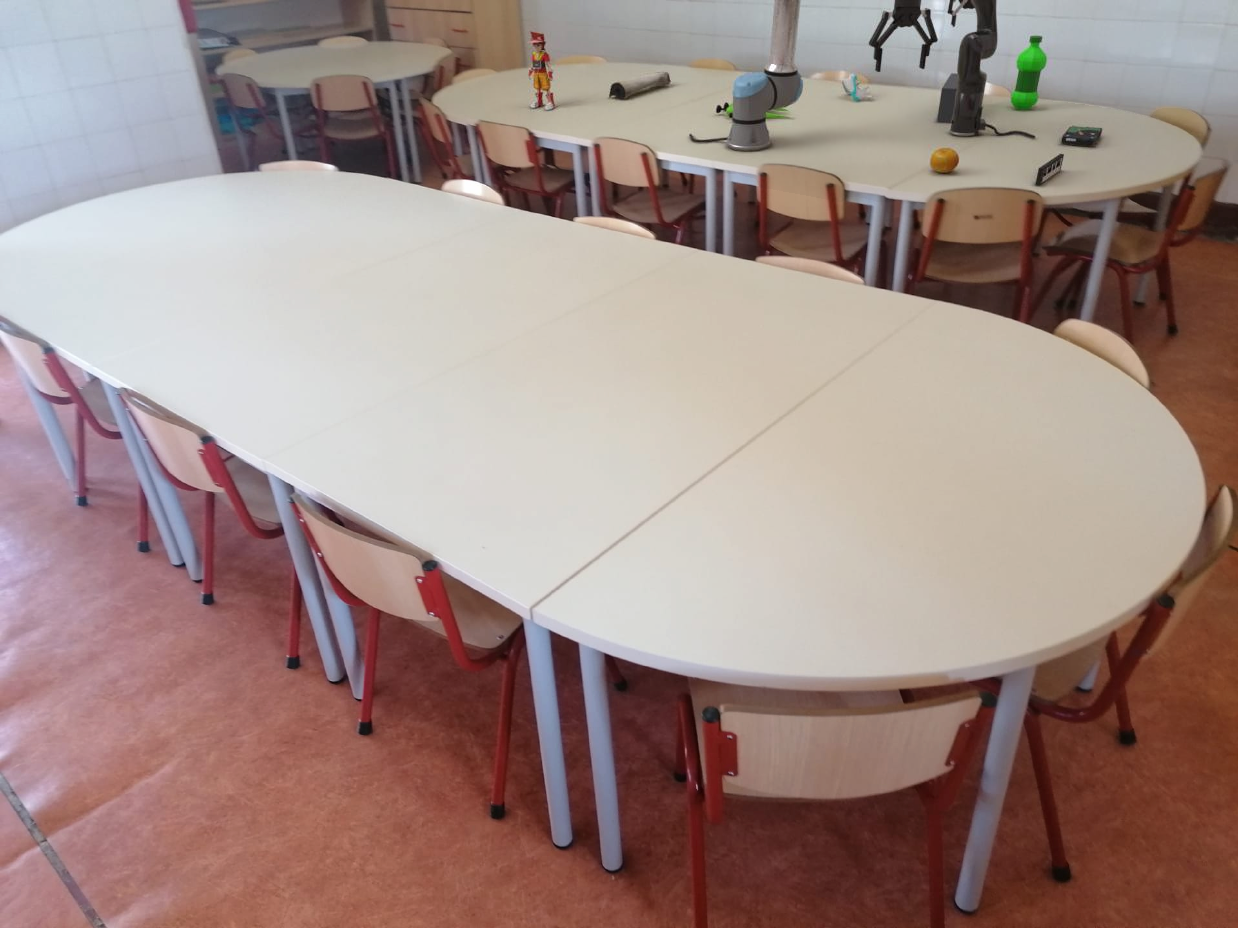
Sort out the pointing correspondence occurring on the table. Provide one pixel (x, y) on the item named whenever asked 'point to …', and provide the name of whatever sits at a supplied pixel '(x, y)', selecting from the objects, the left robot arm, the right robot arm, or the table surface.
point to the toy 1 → (541, 71)
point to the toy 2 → (730, 111)
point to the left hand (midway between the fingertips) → (899, 70)
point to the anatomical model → (855, 88)
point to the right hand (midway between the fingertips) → (965, 27)
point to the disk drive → (1081, 136)
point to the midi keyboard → (1049, 169)
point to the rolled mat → (638, 84)
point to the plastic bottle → (1028, 75)
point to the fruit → (944, 160)
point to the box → (947, 99)
